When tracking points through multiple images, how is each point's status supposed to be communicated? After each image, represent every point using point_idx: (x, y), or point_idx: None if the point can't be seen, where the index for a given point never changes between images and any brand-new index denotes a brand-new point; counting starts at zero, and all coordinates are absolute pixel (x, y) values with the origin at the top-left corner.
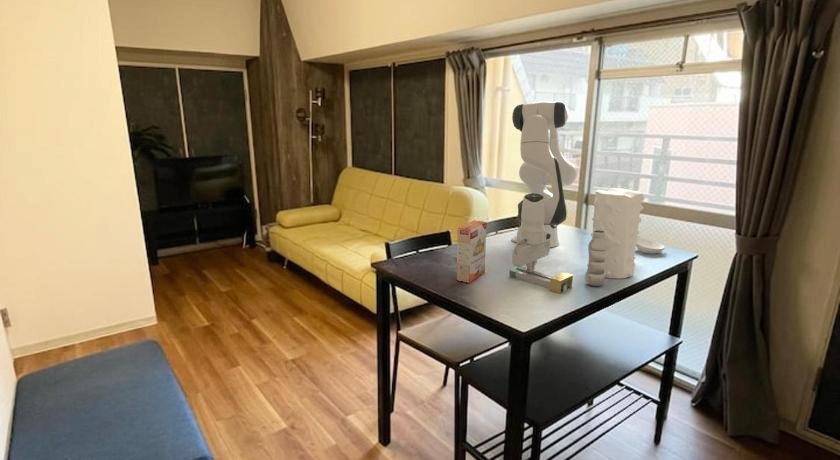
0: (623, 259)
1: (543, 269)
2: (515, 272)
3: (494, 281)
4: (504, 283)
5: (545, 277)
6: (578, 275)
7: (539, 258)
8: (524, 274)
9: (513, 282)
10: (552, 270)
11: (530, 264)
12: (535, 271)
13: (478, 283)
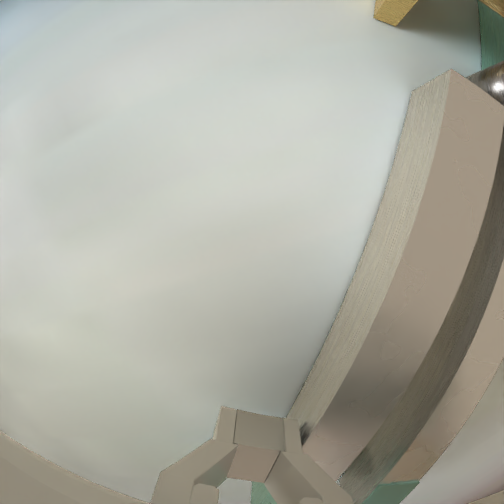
0: None
1: (48, 326)
2: (414, 481)
3: (468, 474)
4: (494, 433)
5: (485, 186)
6: (48, 7)
7: (105, 490)
8: (465, 416)
9: (478, 412)
10: (22, 244)
11: (335, 498)
12: (349, 380)
13: (491, 486)
